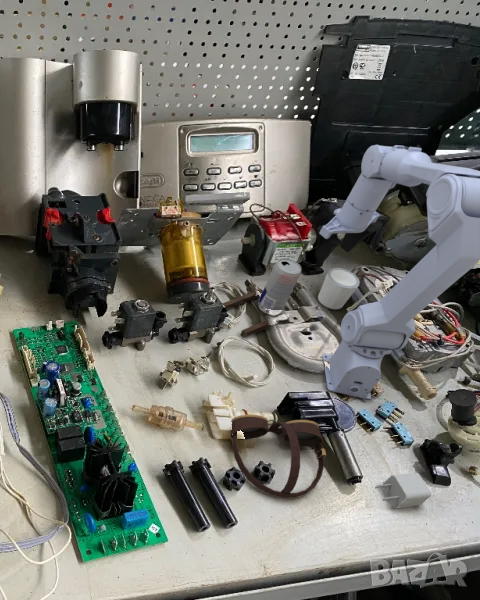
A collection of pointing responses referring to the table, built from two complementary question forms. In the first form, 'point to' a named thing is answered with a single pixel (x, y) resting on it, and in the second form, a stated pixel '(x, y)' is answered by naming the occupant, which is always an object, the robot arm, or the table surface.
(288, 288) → the energy drink
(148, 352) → the table surface
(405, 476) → the usb wall charger
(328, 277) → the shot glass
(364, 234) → the robot arm
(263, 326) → the cradle
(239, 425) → the goggles
